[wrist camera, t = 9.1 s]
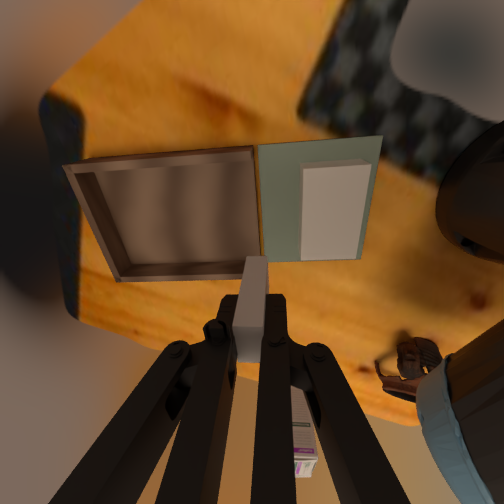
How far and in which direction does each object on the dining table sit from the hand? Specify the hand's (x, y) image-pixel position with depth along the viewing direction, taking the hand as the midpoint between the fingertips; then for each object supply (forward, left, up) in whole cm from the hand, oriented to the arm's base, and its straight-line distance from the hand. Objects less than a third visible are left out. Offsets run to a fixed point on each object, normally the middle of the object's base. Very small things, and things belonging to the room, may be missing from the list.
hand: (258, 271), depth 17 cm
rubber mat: (-6, 0, -12) cm, 13 cm away
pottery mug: (-22, +26, -12) cm, 36 cm away
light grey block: (-7, 0, -12) cm, 14 cm away
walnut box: (+10, 0, -12) cm, 15 cm away
